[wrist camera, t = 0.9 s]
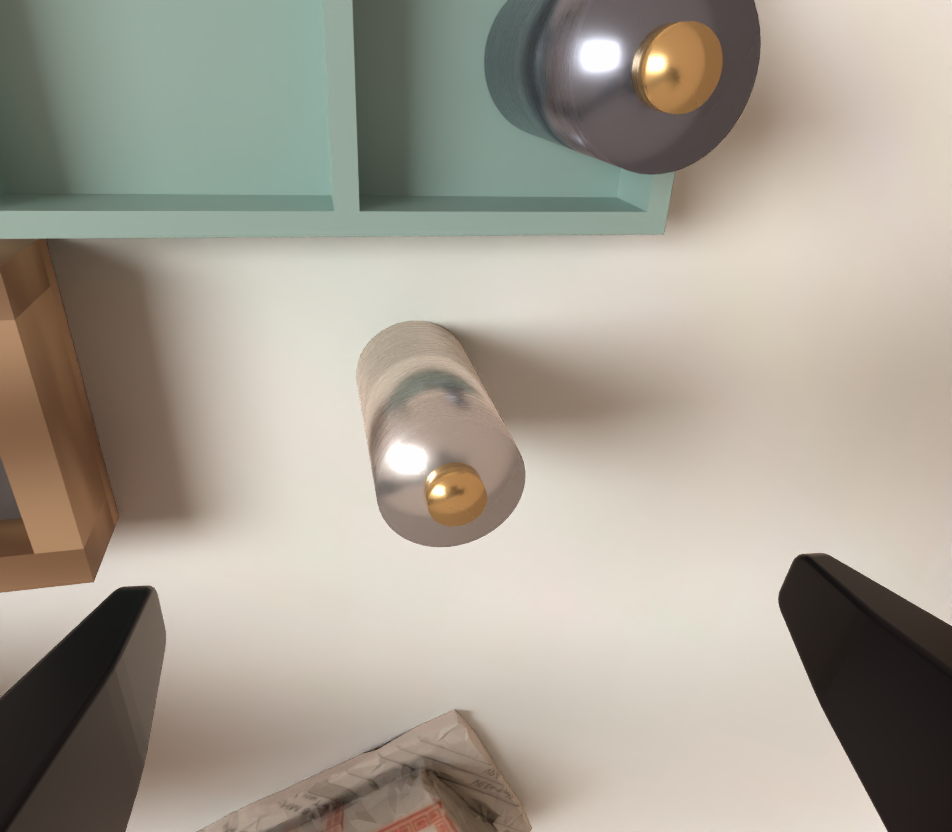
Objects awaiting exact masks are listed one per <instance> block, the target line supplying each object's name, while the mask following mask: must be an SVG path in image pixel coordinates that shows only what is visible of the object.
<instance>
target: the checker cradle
mask: <svg viewBox="0 0 952 832" xmlns="http://www.w3.org/2000/svg"><path fill="white" fill-rule="evenodd" d="M0 456H1V459H2V462H3V465H4V468H5V471H6V474H7V476H8V479H9V482H10V485H11V488H12V491H13V494H14V497H15V499H16V502H17V505H18V508H19V511H20V514H21V517H22V518H16V519H5V520H0V593H1V592H10V591H18V590H27V589H36V588H45V587H54V586H63V585H72V584H81V583H90V582H94V580H95V578H96V575H97V572H98V570H99V567H100V565H101V562H102V559H103V557H104V554H105V552H106V549H107V546H108V544H109V541H110V539H111V536H112V533H113V531H114V528H115V526H116V523H117V520H118V518H119V517H118V513H117V510H116V506H115V502H114V498H113V494H112V491H111V487H110V483H109V479H108V475H107V471H106V468H105V464H104V460H103V456H102V452H101V448H100V445H99V441H98V437H97V433H96V429H95V426H94V422H93V418H92V414H91V410H90V406H89V403H88V399H87V395H86V391H85V387H84V383H83V380H82V376H81V372H80V368H79V364H78V360H77V357H76V353H75V349H74V345H73V341H72V338H71V334H70V330H69V326H68V322H67V318H66V315H65V311H64V307H63V303H62V299H61V295H60V292H59V288H58V284H57V280H56V276H55V272H54V269H53V265H52V261H51V257H50V253H49V250H48V246H47V242H46V239H0Z"/></svg>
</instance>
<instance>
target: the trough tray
mask: <svg viewBox="0 0 952 832" xmlns="http://www.w3.org/2000/svg"><path fill="white" fill-rule="evenodd" d="M507 1H508V0H0V239H48V238H200V237H352V236H505V235H657V234H664V230H665V225H666V219H667V214H668V208H669V203H670V197H671V192H672V186H673V181H674V175H675V171H674V172H669V173H664V174H654V175H648V174H639V173H635V172H631V171H627V170H625V169H622V168H619V167H617V166H614V165H611V164H609V163H606V162H603V161H601V160H598V159H595V158H593V157H590V156H587V155H585V154H582V153H579V152H577V151H574V150H571V149H569V148H566V147H563V146H561V145H558V144H555V143H553V142H550V141H547V140H545V139H542V138H539V137H537V136H534V135H531V134H529V133H526V132H524V131H522V130H520V129H518V128H516V127H515V126H513V125H512V124H511V123H510V122H508V121H507V120H506V119H505V118H504V116H503V115H502V114H501V113H500V112H499V110H498V109H497V107H496V106H495V104H494V102H493V100H492V98H491V96H490V93H489V90H488V87H487V83H486V79H485V71H484V54H485V46H486V41H487V37H488V34H489V31H490V28H491V26H492V24H493V21H494V19H495V17H496V16H497V14H498V12H499V11H500V9H501V8H502V7H503V5H504V4H505V3H506V2H507Z"/></svg>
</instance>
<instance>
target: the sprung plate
mask: <svg viewBox="0 0 952 832" xmlns="http://www.w3.org/2000/svg"><path fill="white" fill-rule="evenodd" d="M16 518H22V517H21V514H20V511H19V508H18V505H17V502H16V499H15V497H14V494H13V491H12V488H11V485H10V482H9V479H8V476H7V474H6V471H5V468H4V465H3V462H2V459H1V456H0V520H5V519H16Z"/></svg>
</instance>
